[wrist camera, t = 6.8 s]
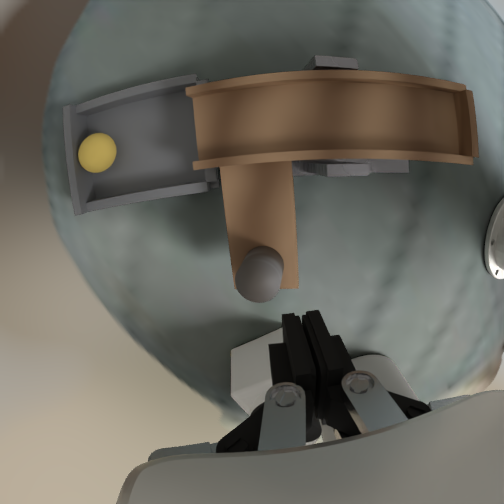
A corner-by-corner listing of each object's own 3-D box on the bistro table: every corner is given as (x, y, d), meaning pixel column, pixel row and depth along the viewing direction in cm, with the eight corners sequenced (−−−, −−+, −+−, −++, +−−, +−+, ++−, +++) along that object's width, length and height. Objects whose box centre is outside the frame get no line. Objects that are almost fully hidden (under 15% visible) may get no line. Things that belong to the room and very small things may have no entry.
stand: (399, 86, 21) (442, 72, 14) (406, 172, 24) (452, 180, 17) (281, 78, 21) (299, 50, 14) (291, 175, 24) (313, 183, 17)
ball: (69, 140, 18) (97, 137, 21) (73, 178, 20) (101, 172, 23) (92, 128, 17) (122, 127, 20) (97, 172, 18) (126, 166, 21)
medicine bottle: (229, 348, 29) (228, 438, 18) (288, 322, 29) (315, 409, 17) (258, 386, 32) (267, 468, 20) (311, 364, 31) (338, 444, 20)
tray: (208, 80, 21) (204, 68, 17) (219, 187, 24) (217, 192, 20) (81, 111, 20) (62, 107, 17) (92, 208, 24) (74, 215, 20)
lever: (453, 89, 14) (477, 80, 11) (450, 276, 19) (470, 298, 16) (196, 92, 18) (174, 82, 15) (219, 284, 23) (204, 307, 20)
